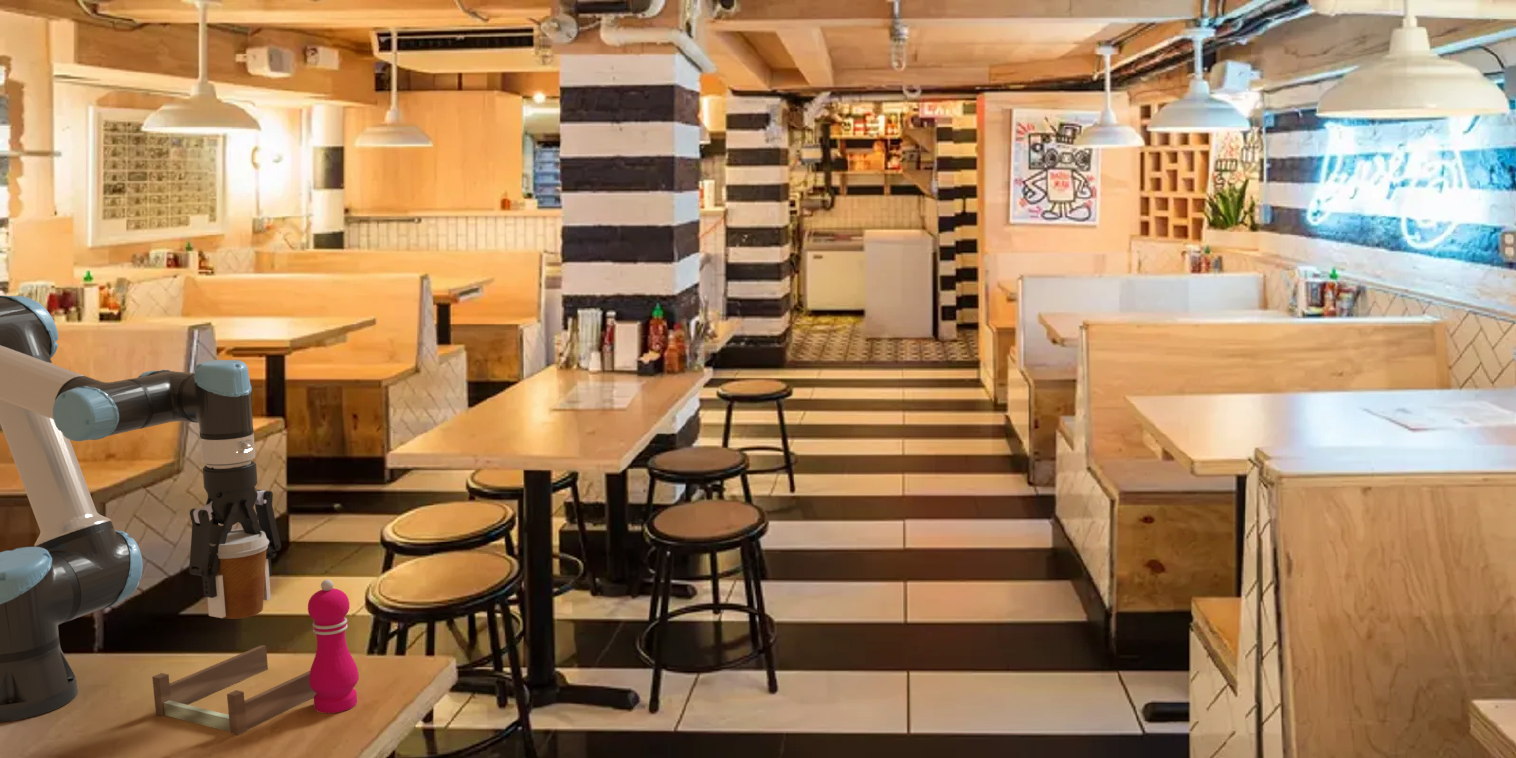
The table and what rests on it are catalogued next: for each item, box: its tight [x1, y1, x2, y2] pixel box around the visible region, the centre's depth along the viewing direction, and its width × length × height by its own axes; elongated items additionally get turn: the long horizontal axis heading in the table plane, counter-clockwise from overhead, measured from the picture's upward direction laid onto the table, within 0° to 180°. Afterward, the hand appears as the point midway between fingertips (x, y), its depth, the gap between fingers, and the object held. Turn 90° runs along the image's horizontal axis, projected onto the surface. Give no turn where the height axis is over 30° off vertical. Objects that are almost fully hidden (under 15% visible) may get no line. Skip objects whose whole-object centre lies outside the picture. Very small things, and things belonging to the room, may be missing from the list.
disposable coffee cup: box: [209, 528, 269, 620], centre depth 193 cm, size 10×10×12 cm
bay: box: [151, 644, 317, 736], centre depth 196 cm, size 18×20×6 cm
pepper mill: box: [307, 579, 360, 714], centre depth 192 cm, size 7×7×20 cm
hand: (240, 607), depth 194 cm, fingers closed on disposable coffee cup, 8 cm apart
